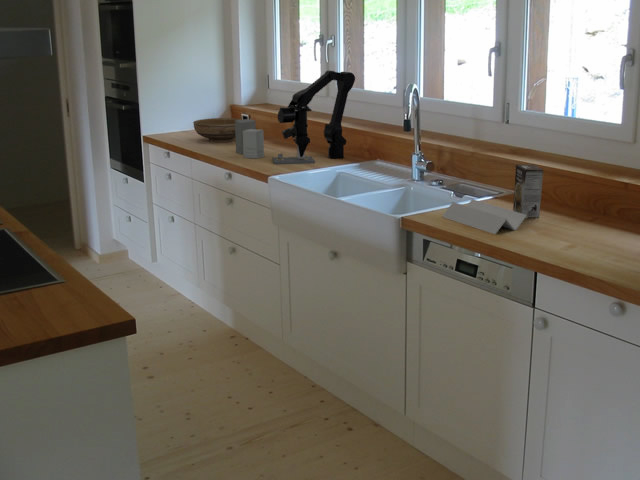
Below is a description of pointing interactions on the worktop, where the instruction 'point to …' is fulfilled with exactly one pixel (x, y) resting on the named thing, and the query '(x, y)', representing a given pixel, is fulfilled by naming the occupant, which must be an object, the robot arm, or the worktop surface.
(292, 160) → the plate
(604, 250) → the worktop surface
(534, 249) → the worktop surface
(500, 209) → the z bracket
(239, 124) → the skincare box
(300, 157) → the block
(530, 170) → the coffee box
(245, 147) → the supplement box
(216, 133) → the wooden bowl
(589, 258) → the worktop surface
